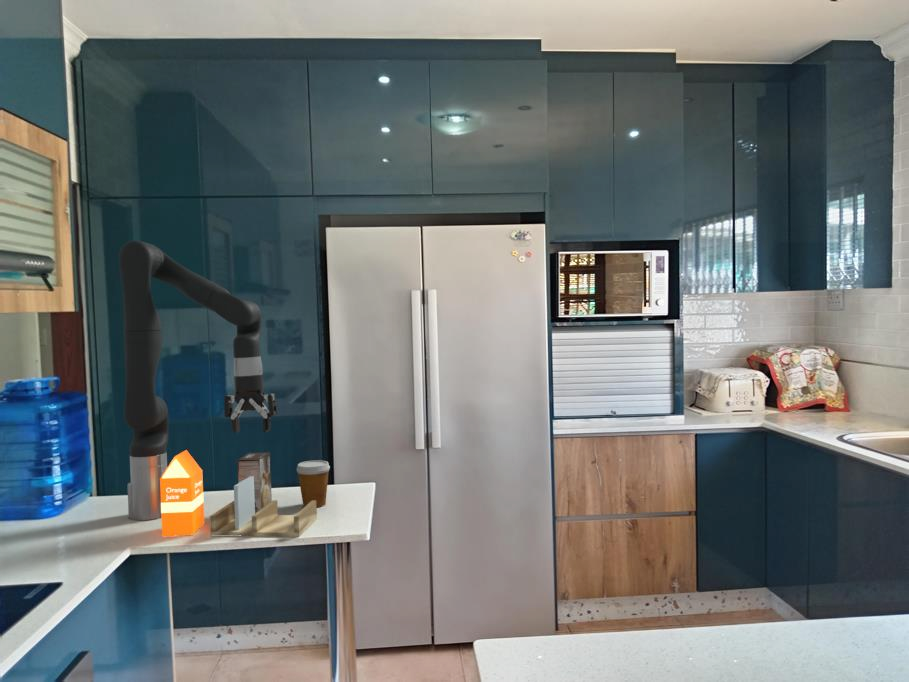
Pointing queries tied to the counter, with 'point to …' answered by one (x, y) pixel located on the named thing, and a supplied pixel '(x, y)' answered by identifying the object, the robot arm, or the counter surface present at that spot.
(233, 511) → the rack
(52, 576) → the counter surface
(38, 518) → the counter surface
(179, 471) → the orange juice
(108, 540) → the counter surface
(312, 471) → the disposable coffee cup
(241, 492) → the pale grey flat panel
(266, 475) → the coffee box
